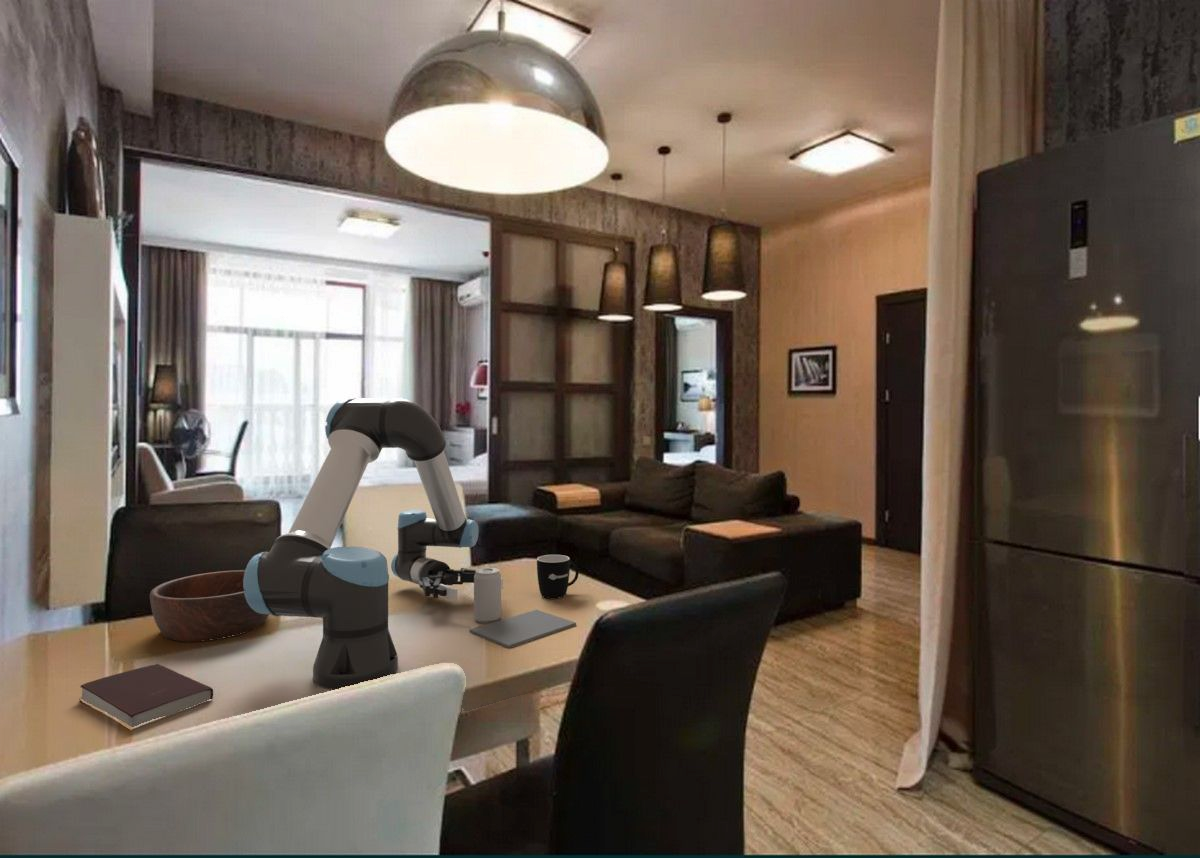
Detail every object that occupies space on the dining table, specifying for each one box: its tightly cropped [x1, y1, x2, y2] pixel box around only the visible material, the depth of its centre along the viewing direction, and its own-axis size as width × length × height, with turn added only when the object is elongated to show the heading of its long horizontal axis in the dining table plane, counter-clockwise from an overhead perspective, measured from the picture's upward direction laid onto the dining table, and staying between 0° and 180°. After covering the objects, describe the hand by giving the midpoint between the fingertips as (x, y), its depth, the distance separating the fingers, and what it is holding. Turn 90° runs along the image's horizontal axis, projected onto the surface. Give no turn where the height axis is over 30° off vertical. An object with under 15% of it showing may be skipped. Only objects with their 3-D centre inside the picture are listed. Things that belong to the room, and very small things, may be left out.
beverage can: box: [473, 567, 502, 624], centre depth 152 cm, size 6×6×12 cm
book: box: [80, 663, 214, 727], centre depth 109 cm, size 12×19×3 cm, turn 58°
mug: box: [536, 554, 580, 599], centre depth 173 cm, size 12×9×10 cm
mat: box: [469, 609, 577, 649], centre depth 146 cm, size 20×14×1 cm
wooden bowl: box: [149, 569, 270, 642], centre depth 146 cm, size 25×25×10 cm
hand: (479, 589), depth 155 cm, fingers open, 13 cm apart
